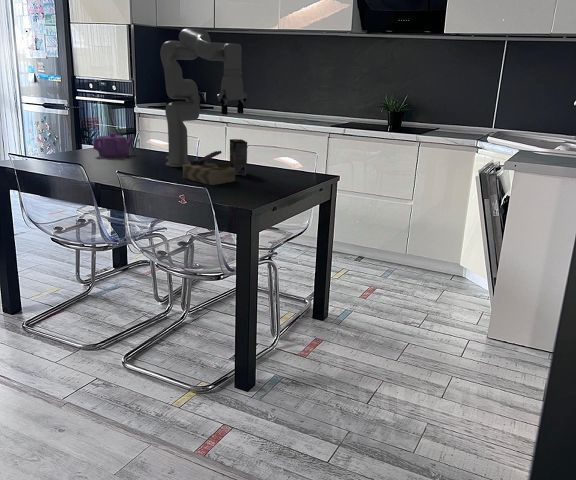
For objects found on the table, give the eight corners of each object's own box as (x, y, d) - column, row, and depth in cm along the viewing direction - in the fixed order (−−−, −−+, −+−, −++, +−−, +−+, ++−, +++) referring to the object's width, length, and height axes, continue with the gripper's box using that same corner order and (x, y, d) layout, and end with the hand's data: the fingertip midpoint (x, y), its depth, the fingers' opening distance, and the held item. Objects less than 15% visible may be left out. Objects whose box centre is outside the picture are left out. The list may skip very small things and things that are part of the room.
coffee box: (229, 172, 273) (229, 139, 268) (241, 171, 275) (242, 138, 270) (234, 175, 265) (234, 141, 260) (247, 175, 267) (247, 141, 262)
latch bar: (194, 164, 256) (193, 162, 256) (200, 163, 259) (200, 161, 259) (214, 153, 245) (214, 151, 245) (221, 152, 248) (221, 150, 248)
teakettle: (92, 157, 299) (90, 134, 295) (106, 152, 315) (104, 130, 311) (122, 159, 297) (121, 135, 293) (135, 154, 313) (133, 132, 309)
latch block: (182, 177, 256) (182, 159, 253) (206, 174, 266) (206, 156, 263) (211, 185, 243) (211, 166, 241) (235, 181, 253) (235, 162, 251)
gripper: (240, 73, 250) (240, 112, 256) (211, 73, 238) (212, 114, 243) (252, 74, 246) (252, 113, 251) (223, 73, 233) (224, 115, 238)
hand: (232, 113), depth 247 cm, fingers open, 9 cm apart
